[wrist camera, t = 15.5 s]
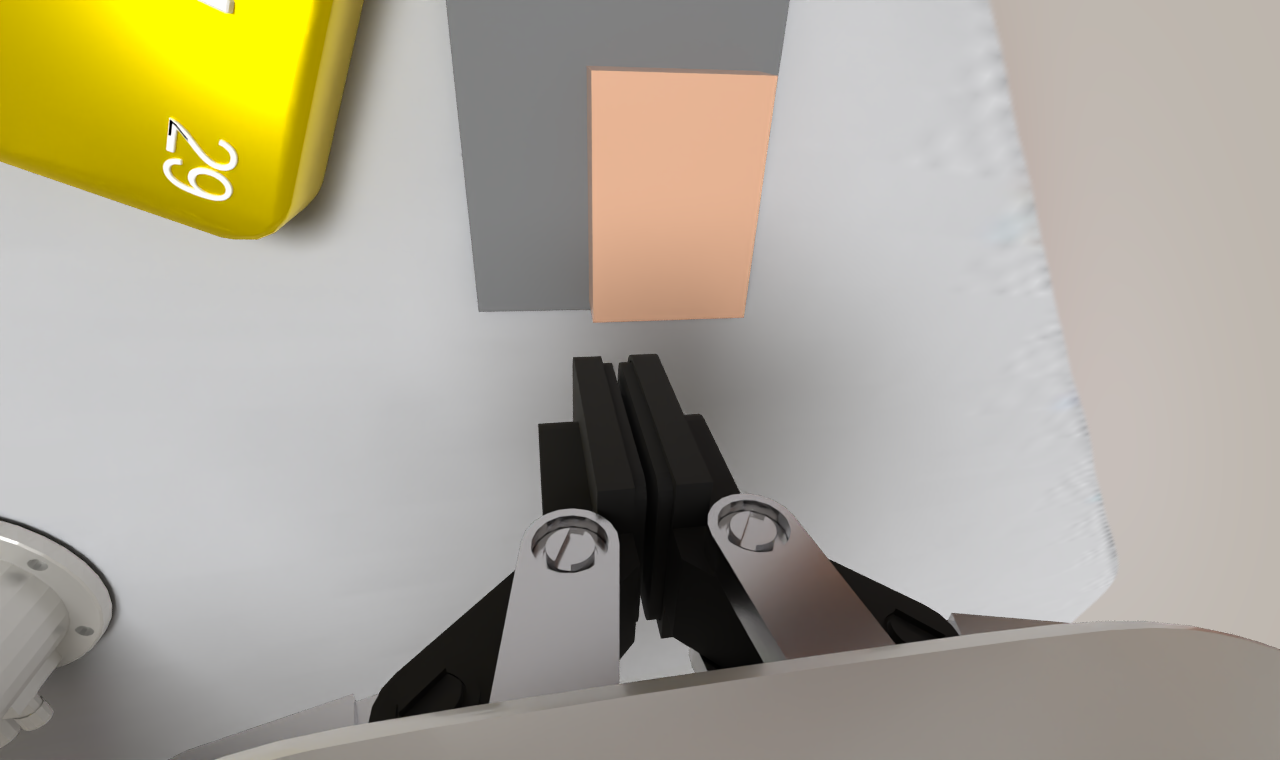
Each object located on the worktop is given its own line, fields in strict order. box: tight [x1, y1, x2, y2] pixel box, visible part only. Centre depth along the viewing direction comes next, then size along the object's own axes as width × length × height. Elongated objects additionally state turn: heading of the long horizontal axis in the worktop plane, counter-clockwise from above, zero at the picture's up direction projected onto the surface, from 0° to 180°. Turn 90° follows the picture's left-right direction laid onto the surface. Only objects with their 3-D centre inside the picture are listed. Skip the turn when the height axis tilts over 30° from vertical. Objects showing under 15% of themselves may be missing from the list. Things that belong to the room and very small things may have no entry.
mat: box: [446, 0, 790, 312], centre depth 24 cm, size 17×13×1 cm
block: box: [587, 66, 778, 323], centre depth 25 cm, size 10×2×7 cm
